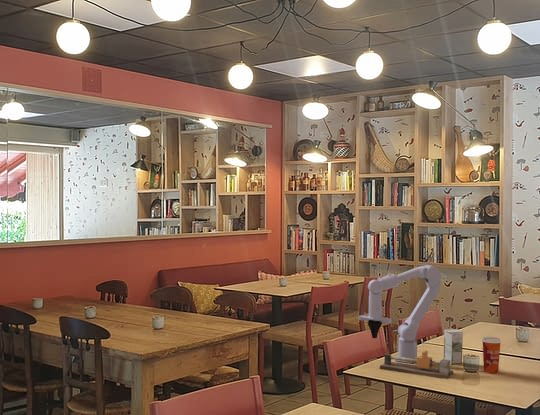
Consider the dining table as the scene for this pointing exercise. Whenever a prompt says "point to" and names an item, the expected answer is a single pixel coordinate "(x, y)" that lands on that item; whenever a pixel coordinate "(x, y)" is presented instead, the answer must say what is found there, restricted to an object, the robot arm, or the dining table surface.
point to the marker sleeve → (424, 360)
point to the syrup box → (453, 345)
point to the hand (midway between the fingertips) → (374, 337)
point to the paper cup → (491, 354)
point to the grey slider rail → (413, 369)
